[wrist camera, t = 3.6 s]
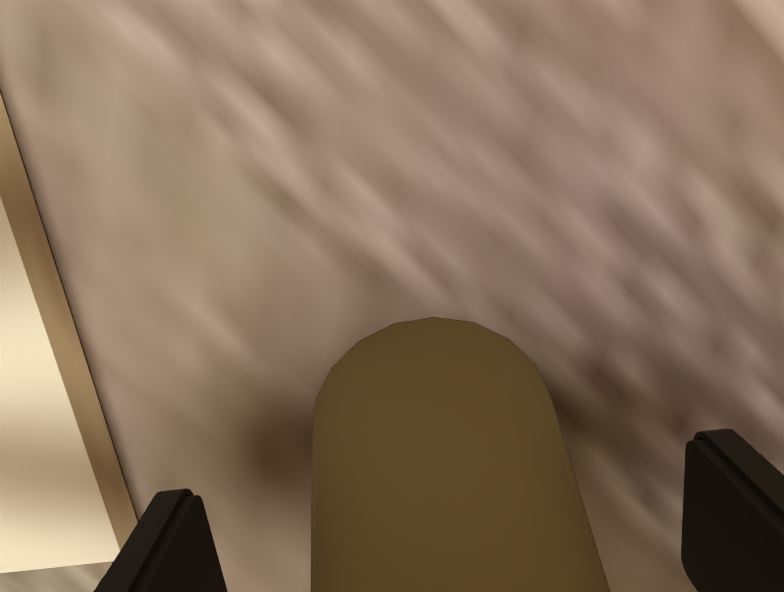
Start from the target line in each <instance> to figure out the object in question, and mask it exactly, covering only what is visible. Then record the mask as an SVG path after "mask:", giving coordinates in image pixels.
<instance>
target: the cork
mask: <svg viewBox="0 0 784 592" xmlns="http://www.w3.org/2000/svg"><path fill="white" fill-rule="evenodd" d="M311 592H610V590H609V587H608V583H607V580H606V577H605V574H604V570H603V567H602V564H601V560H600V557H599V554H598V550H597V547H596V544H595V541H594V537H593V534H592V531H591V527H590V524H589V521H588V517H587V514H586V511H585V508H584V504H583V501H582V498H581V494H580V491H579V488H578V484H577V481H576V478H575V475H574V471H573V468H572V465H571V461H570V458H569V455H568V451H567V448H566V445H565V442H564V438H563V435H562V432H561V428H560V425H559V422H558V418H557V415H556V412H555V409H554V405H553V402H552V399H551V396H550V394H549V391H548V389H547V387H546V385H545V383H544V381H543V379H542V377H541V375H540V373H539V371H538V369H537V367H536V365H535V364H534V363H533V362H532V361H531V360H530V359H529V358H528V357H527V356H526V355H525V354H524V353H523V352H522V351H521V350H520V349H519V348H518V347H517V346H516V345H515V344H513V343H512V342H511V341H510V340H509V339H508V338H505V337H503V336H501V335H499V334H497V333H495V332H493V331H491V330H488V329H486V328H484V327H482V326H480V325H478V324H476V323H473V322H465V321H458V320H451V319H443V318H436V317H433V318H427V319H421V320H414V321H408V322H402V323H396V324H393V325H391V326H389V327H387V328H385V329H383V330H381V331H379V332H377V333H375V334H373V335H371V336H369V337H367V338H365V339H362V340H360V341H359V342H358V343H357V344H356V345H355V346H354V347H352V348H351V349H350V350H349V351H348V352H347V353H346V354H345V355H344V356H343V357H342V358H341V359H340V360H339V361H338V362H337V363H336V364H335V365H334V366H333V367H332V368H331V370H330V372H329V374H328V376H327V378H326V380H325V382H324V384H323V386H322V388H321V390H320V392H319V394H318V396H317V398H316V403H315V411H314V420H313V428H312V501H311Z"/></svg>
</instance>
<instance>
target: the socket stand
mask: <svg viewBox="0 0 784 592" xmlns="http://www.w3.org/2000/svg"><path fill="white" fill-rule="evenodd" d="M137 523H138V522H137V519H136V516H135V513H134V509H133V506H132V503H131V500H130V497H129V494H128V491H127V487H126V484H125V481H124V478H123V475H122V472H121V469H120V466H119V462H118V459H117V456H116V453H115V450H114V447H113V444H112V441H111V437H110V434H109V431H108V428H107V425H106V422H105V419H104V416H103V412H102V409H101V406H100V403H99V400H98V397H97V394H96V391H95V387H94V384H93V381H92V378H91V375H90V372H89V369H88V366H87V362H86V359H85V356H84V353H83V350H82V347H81V344H80V341H79V337H78V334H77V331H76V328H75V325H74V322H73V319H72V316H71V312H70V309H69V306H68V303H67V300H66V297H65V294H64V291H63V287H62V284H61V281H60V278H59V275H58V272H57V269H56V266H55V262H54V259H53V256H52V253H51V250H50V247H49V244H48V241H47V237H46V234H45V231H44V228H43V225H42V222H41V219H40V216H39V212H38V209H37V206H36V203H35V200H34V197H33V194H32V191H31V187H30V184H29V181H28V178H27V175H26V172H25V169H24V166H23V162H22V159H21V156H20V153H19V150H18V147H17V144H16V141H15V137H14V134H13V131H12V128H11V125H10V122H9V119H8V116H7V112H6V109H5V106H4V103H3V100H2V97H1V94H0V573H6V572H15V571H25V570H34V569H43V568H53V567H62V566H71V565H81V564H90V563H99V562H109V561H114V560H115V558H116V557H117V555H118V554H119V552H120V550H121V549H122V547H123V546H124V544H125V542H126V541H127V539H128V538H129V536H130V534H131V533H132V531H133V530H134V528H135V526H136V525H137Z"/></svg>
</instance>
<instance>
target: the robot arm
mask: <svg viewBox="0 0 784 592" xmlns="http://www.w3.org/2000/svg"><path fill="white" fill-rule="evenodd" d="M681 558H682V563H683V567H684V569H685V572H686V574H687V576H688V577H689V579H690V581H691V582H692V584H693V585H694V587H695V588H696V590H697V591H698V592H784V475H783V474H782V473H781V472H780V471H778V470H777V469H776V468H775V467H774V466H773V465H772V464H771V463H770V462H768V461H767V460H766V459H765V458H764V457H763V456H762V455H761V454H759V453H758V452H757V451H756V450H755V449H754V448H753V447H752V446H751V445H749V444H748V443H747V442H746V441H745V440H744V439H743V438H742V437H741V436H739V435H738V434H737V433H736V432H735V431H733V430H732V429H719V430H710V431H701V432H698V433H696V434H695V436H694V440H692V441H688V442H687V444H686V452H685V475H684V499H683V522H682V545H681ZM94 592H227V588H226V585H225V581H224V577H223V574H222V570H221V566H220V563H219V559H218V555H217V552H216V548H215V544H214V541H213V537H212V533H211V530H210V526H209V522H208V519H207V515H206V511H205V508H204V504H203V501H202V498H201V497H200V496H199V495H195V496H193V493H192V492H191V490H190V489H179V490H170V491H161V492H158V493H157V494H156V495H155V496H154V497H153V499H152V501H151V502H150V504H149V505H148V507H147V509H146V510H145V512H144V513H143V515H142V517H141V518H140V520H139V522H138V523H137V525H136V526H135V528H134V530H133V531H132V533H131V534H130V536H129V538H128V539H127V541H126V542H125V544H124V546H123V547H122V549H121V550H120V552H119V554H118V555H117V557H116V558H115V560H114V562H113V563H112V565H111V566H110V568H109V570H108V571H107V573H106V574H105V576H104V577H103V578H102V579H101V581H100V582H99V584H98V586H97V587H96V589H95V590H94Z"/></svg>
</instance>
